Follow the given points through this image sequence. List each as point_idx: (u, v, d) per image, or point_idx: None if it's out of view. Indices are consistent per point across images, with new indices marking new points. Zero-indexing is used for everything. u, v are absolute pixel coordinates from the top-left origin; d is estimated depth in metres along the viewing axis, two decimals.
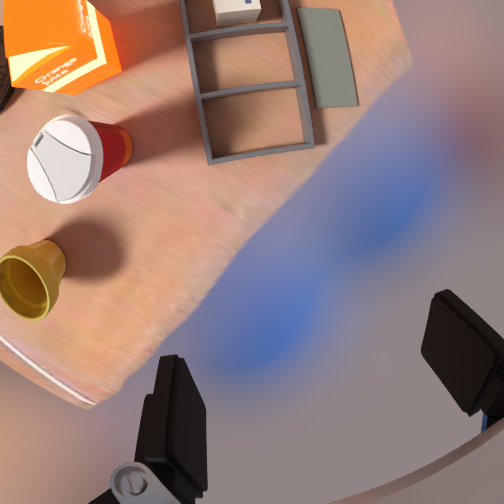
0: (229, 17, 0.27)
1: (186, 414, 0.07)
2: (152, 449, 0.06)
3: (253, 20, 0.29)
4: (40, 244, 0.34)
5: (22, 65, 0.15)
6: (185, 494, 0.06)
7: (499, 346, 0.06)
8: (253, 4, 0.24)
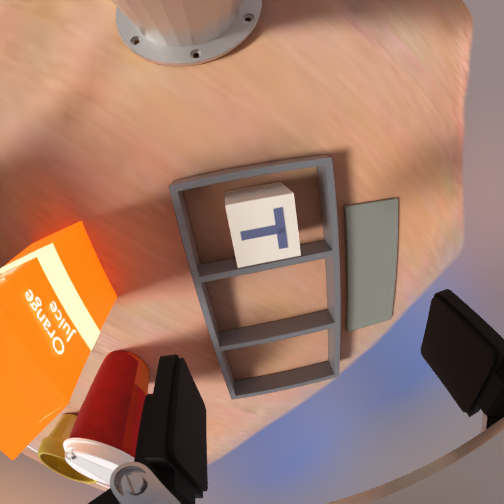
0: None
1: (186, 414, 0.07)
2: (152, 449, 0.06)
3: None
4: (71, 427, 0.33)
5: None
6: (185, 494, 0.06)
7: (499, 346, 0.06)
8: (290, 249, 0.23)
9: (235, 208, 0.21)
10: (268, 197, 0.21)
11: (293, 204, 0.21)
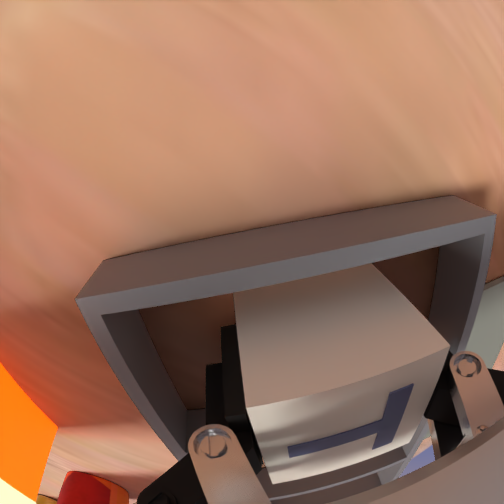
0: None
1: None
2: (232, 408, 0.07)
3: None
4: None
5: None
6: (257, 455, 0.07)
7: None
8: (394, 441, 0.07)
9: (280, 411, 0.06)
10: (386, 370, 0.06)
11: (438, 370, 0.06)
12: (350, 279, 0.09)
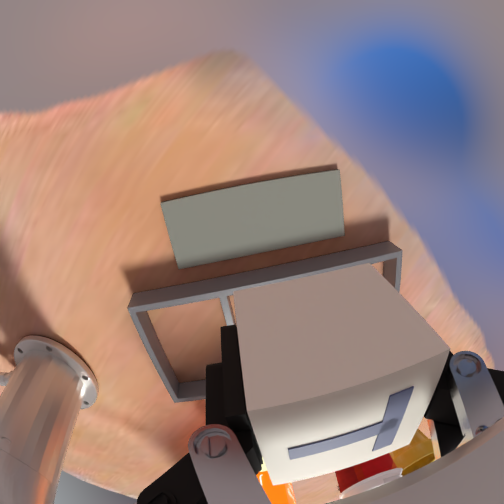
0: None
1: None
2: (232, 408, 0.07)
3: None
4: None
5: None
6: (257, 455, 0.07)
7: None
8: (394, 443, 0.07)
9: (281, 414, 0.06)
10: (386, 373, 0.06)
11: (439, 373, 0.06)
12: (350, 281, 0.09)
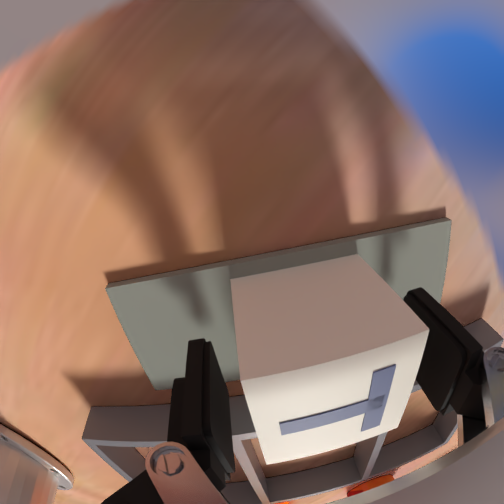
0: None
1: (216, 395, 0.08)
2: (189, 427, 0.06)
3: None
4: None
5: None
6: (218, 473, 0.06)
7: (468, 345, 0.06)
8: (382, 425, 0.08)
9: (271, 385, 0.07)
10: (368, 349, 0.07)
11: (420, 353, 0.07)
12: (339, 270, 0.10)
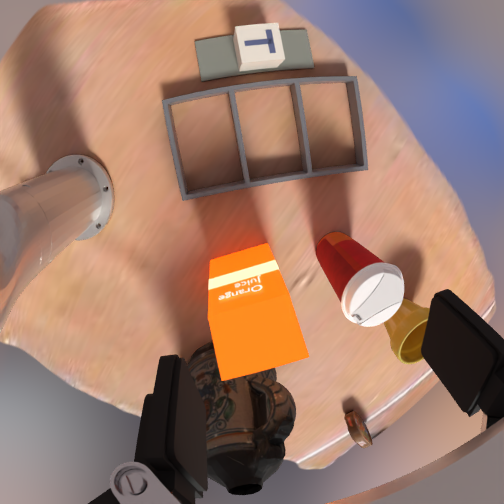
0: (253, 65, 0.30)
1: (186, 414, 0.07)
2: (152, 449, 0.06)
3: (275, 66, 0.32)
4: (390, 319, 0.48)
5: None
6: (185, 494, 0.06)
7: (499, 346, 0.06)
8: (277, 54, 0.28)
9: (241, 28, 0.26)
10: (262, 24, 0.26)
11: (278, 28, 0.27)
12: None
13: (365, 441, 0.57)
